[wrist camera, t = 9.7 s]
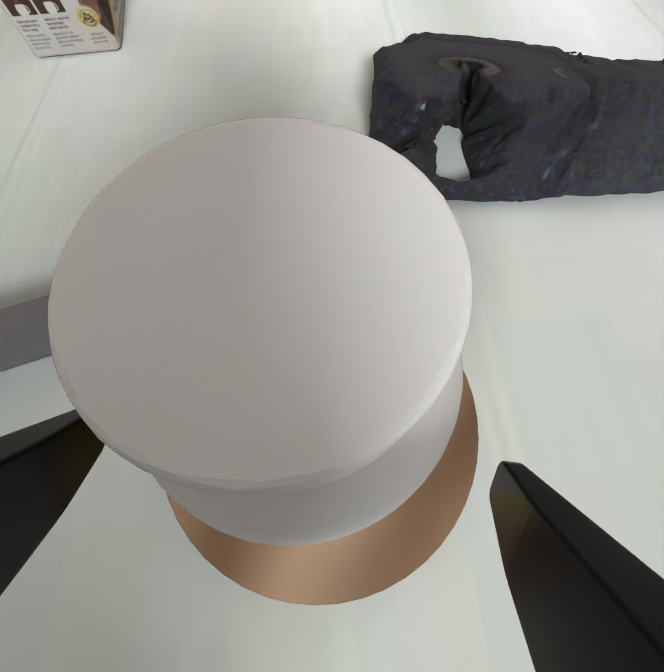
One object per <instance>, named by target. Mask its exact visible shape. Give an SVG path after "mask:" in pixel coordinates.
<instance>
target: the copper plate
mask: <svg viewBox="0 0 664 672" xmlns="http://www.w3.org/2000/svg"><path fill="white" fill-rule="evenodd" d="M477 454H478V424H477V415H476V410H475V404H474V399H473V395H472V392H471V389H470V386H469V383H468V380H467V377H466V375H465V373H464V371H463V390H462V396H461V403H460V408H459V413H458V417H457V421H456V424H455V427H454V430H453V433H452V435H451V437H450V440H449V442H448V444H447V446H446V449H445V451H444V453H443V455H442V457H441V458H440V460H439V461H438V463H437V464H436V466H435V467H434V469H433V470H432V472H431V473H430V475H429V476H428V477H427V479H426V480H425V481H424V483H423V484H422V485H421V486H420V487H419V488H418V489H417V490H416V491H415V492H414V493H413V494H412V495H411V496H410V497H409V498H408V499H407V500H406V501H405V502H404V503H403V504H401V505H400V506H399V507H398V508H397V509H396V510H394V511H393V512H391V513H390V514H389V515H387V516H386V517H384V518H383V519H381V520H380V521H378V522H376V523H374V524H372V525H370V526H368V527H366V528H364V529H362V530H360V531H357V532H355V533H353V534H350V535H348V536H344V537H341V538H338V539H335V540H330V541H326V542H322V543H317V544H309V545H298V546H280V545H269V544H261V543H254V542H249V541H246V540H242V539H239V538H236V537H233V536H231V535H228V534H226V533H223V532H220V531H218V530H217V529H215V528H213V527H211V526H209V525H207V524H206V523H204V522H202V521H201V520H199V519H197V518H196V517H194V516H193V515H192V514H190V513H189V512H188V511H187V510H185V509H184V508H183V507H182V506H180V505H179V504H178V503H177V502H176V501H174V499H173V498H172V497H171V496H170V495H169V494H168V493H167V492H166V493H167V496H168V500H169V502H170V504H171V507H172V509H173V511H174V513H175V516H176V518H177V520H178V522H179V524H180V525H181V527H182V528H183V530H184V532H185V533H186V535H187V536H188V538H189V540H190V541H191V542H192V543H193V545H194V546H195V547H196V548H197V549H198V551H199V552H200V553H201V554H202V555H203V556H204V558H205V559H206V560H208V561H209V562H210V563H211V564H212V565H213V566H214V567H216V568H217V569H218V570H219V571H220V572H221V573H222V574H224V575H225V576H227V577H228V578H230V579H232V580H233V581H235V582H236V583H238V584H239V585H241V586H243V587H244V588H247V589H249V590H251V591H254V592H256V593H258V594H260V595H263V596H265V597H269V598H272V599H276V600H280V601H284V602H288V603H296V604H306V605H326V604H339V603H344V602H348V601H353V600H358V599H362V598H365V597H367V596H370V595H372V594H375V593H377V592H380V591H383V590H385V589H387V588H388V587H390V586H392V585H394V584H395V583H397V582H399V581H401V580H402V579H404V578H406V577H407V576H408V575H410V574H411V573H412V572H413V571H415V570H416V569H417V568H418V567H420V566H421V565H422V564H423V563H425V562H426V561H427V559H428V558H429V557H430V556H431V555H432V554H433V553H434V552H435V551H436V550H437V549H438V548H439V547H440V546H441V544H442V543H443V541H444V540H445V539H446V537H447V536H448V534H449V533H450V531H451V530H452V529H453V527H454V526H455V524H456V522H457V520H458V518H459V516H460V514H461V512H462V510H463V508H464V506H465V504H466V501H467V498H468V495H469V492H470V489H471V486H472V484H473V479H474V474H475V469H476V464H477Z"/></svg>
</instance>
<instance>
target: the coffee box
mask: <svg viewBox="0 0 664 672" xmlns="http://www.w3.org/2000/svg"><path fill="white" fill-rule="evenodd" d="M0 5H1V7H2V8H3V9H4V11H5V12H6V14H7V15H8V17H9V18H10V19H11V21H12V22H13V24H14V25H15V27H16V28H17V29H18V31H19V32H20V34H21V35H22V37H23V38H24V40H25V41H26V42H27V44H28V45H29V47H30V48H31V50H32V51H33V53H34V54H35V55H36V56H37V57H46V56H55V55H67V54H76V53H88V52H98V51H111V50H117V49H119V48H120V47H121V35H122V23H123V11H124V0H0Z"/></svg>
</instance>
